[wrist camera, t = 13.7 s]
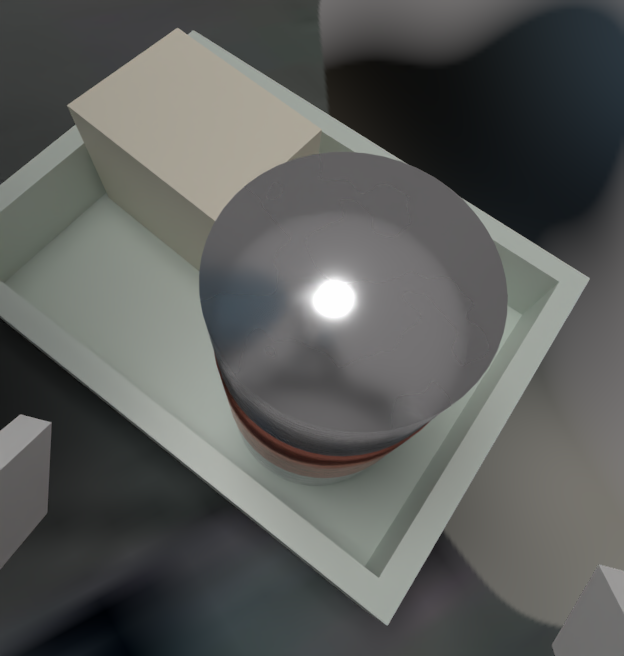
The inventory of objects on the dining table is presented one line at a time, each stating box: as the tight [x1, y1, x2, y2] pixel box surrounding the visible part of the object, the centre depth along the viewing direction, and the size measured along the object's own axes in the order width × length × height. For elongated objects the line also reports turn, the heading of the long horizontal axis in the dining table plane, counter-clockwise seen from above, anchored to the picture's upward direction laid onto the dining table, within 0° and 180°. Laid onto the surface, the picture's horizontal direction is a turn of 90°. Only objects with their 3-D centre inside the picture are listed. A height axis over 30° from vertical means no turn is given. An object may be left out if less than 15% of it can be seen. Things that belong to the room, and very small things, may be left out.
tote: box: [0, 30, 590, 626], centre depth 24 cm, size 22×16×4 cm
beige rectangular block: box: [67, 28, 322, 271], centre depth 24 cm, size 8×6×6 cm
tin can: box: [199, 152, 508, 486], centre depth 18 cm, size 7×7×12 cm
